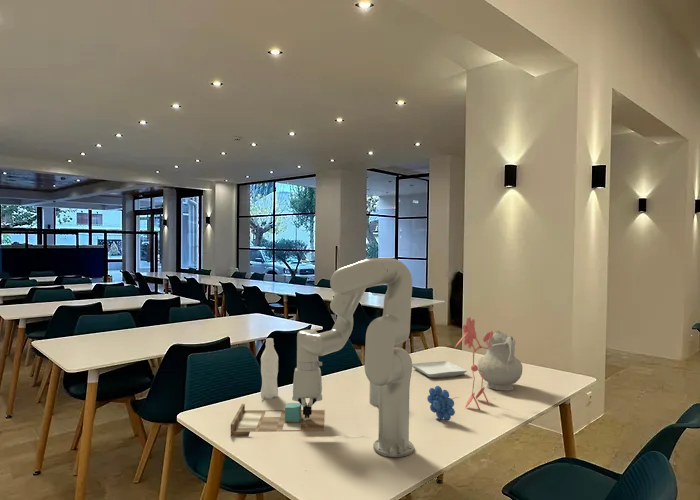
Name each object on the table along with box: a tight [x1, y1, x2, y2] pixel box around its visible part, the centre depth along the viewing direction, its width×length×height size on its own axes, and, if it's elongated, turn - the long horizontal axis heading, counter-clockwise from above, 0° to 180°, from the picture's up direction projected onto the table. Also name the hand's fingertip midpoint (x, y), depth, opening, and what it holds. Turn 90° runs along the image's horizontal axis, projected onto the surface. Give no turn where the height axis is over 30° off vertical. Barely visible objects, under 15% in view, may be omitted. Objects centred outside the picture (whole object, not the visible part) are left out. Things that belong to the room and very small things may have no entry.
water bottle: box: [260, 337, 279, 401], centre depth 193 cm, size 7×7×25 cm
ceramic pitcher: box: [477, 330, 523, 392], centre depth 211 cm, size 22×20×25 cm
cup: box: [369, 381, 380, 407], centre depth 190 cm, size 8×8×12 cm
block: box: [284, 402, 302, 422], centre depth 168 cm, size 5×5×5 cm
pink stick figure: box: [452, 316, 495, 410], centre depth 191 cm, size 15×26×35 cm, turn 142°
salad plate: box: [412, 360, 468, 379], centre depth 236 cm, size 21×21×3 cm
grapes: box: [426, 385, 456, 422], centre depth 172 cm, size 12×7×12 cm, turn 46°
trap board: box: [230, 403, 326, 437], centre depth 167 cm, size 20×31×4 cm, turn 92°
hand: (307, 416), depth 167 cm, fingers closed
